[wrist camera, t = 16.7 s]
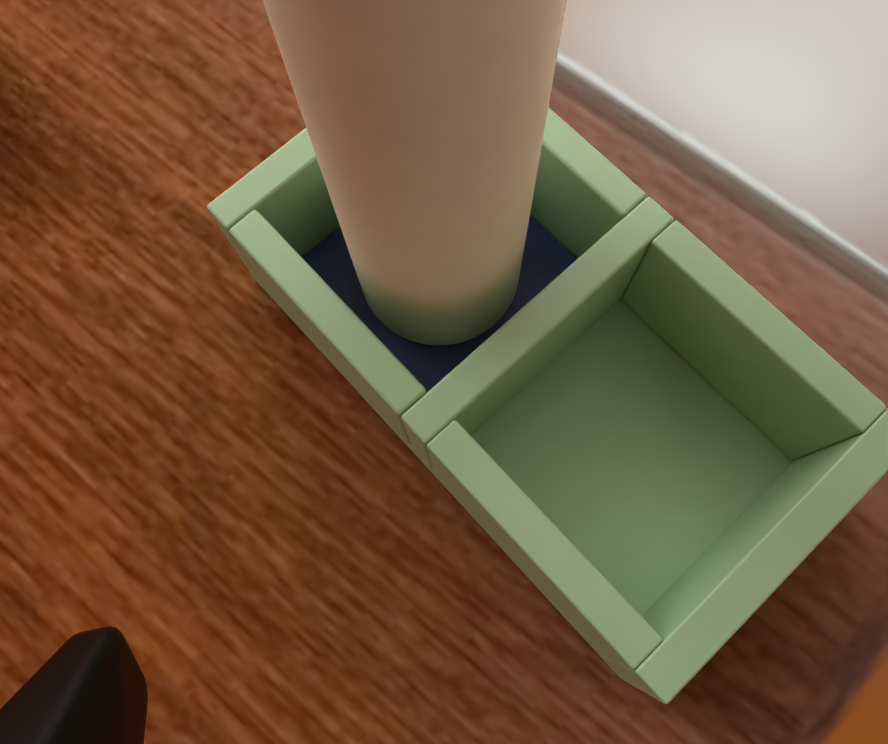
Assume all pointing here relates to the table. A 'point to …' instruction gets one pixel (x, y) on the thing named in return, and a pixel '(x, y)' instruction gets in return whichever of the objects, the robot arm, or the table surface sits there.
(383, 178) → the red-lidded canister
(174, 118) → the table surface
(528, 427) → the green divided tray
